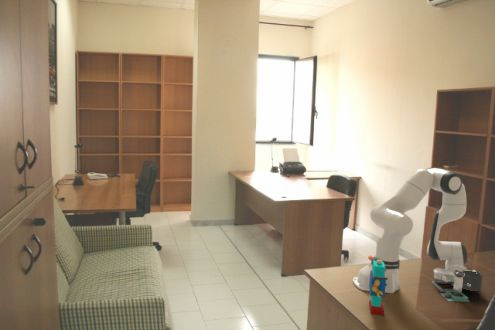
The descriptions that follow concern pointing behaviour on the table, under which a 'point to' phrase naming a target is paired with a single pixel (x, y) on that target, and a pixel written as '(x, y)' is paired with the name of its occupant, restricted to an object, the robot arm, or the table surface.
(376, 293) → the toy robot
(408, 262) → the table surface
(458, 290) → the salt shaker
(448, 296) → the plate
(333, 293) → the table surface
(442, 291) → the grey square frame
